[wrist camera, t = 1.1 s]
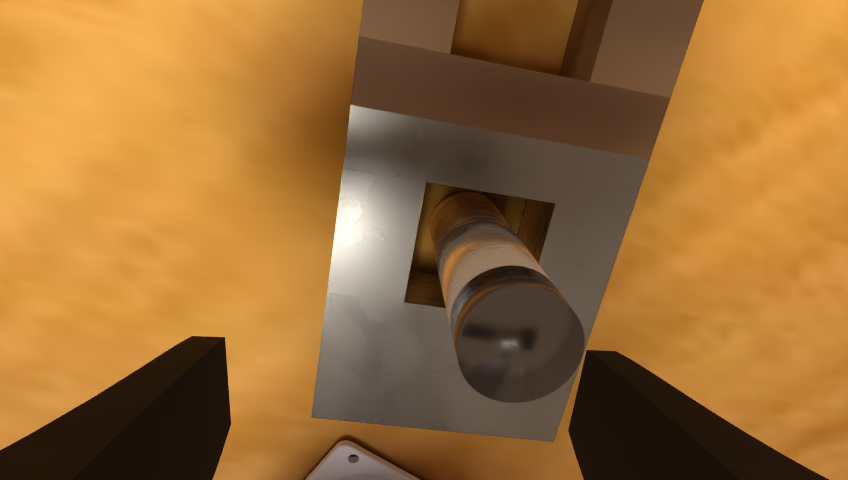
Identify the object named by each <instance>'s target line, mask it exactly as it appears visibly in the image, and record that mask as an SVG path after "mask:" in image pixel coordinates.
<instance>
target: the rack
mask: <svg viewBox="0 0 848 480" xmlns="http://www.w3.org/2000/svg"><path fill="white" fill-rule="evenodd" d="M703 1H704V0H579V2H578V6H577V10H576V14H575V18H574V22H573V25H572V29H571V33H570V37H569V41H568V44H567V48H566V52H565V56H564V60H563V64H562V67H561V71H560V75H559V76H558V75H553V74H548V73H543V72H538V71H533V70H528V69H523V68H518V67H513V66H508V65H503V64H498V63H493V62H488V61H483V60H478V59H473V58H468V57H463V56H458V55H453V54H450V51H451V46H452V40H453V35H454V29H455V24H456V19H457V13H458V8H459V3H460V0H364V1H363V9H362V17H361V25H360V33H359V41H358V49H357V57H356V65H355V73H354V81H353V89H352V96H351V104H350V105H353V106H359V107H364V108H370V109H375V110H381V111H386V112H392V113H397V114H403V115H408V116H414V117H419V118H425V119H430V120H436V121H441V122H447V123H452V124H458V125H463V126H469V127H475V128H480V129H486V130H491V131H497V132H502V133H508V134H513V135H519V136H524V137H530V138H535V139H541V140H546V141H552V142H557V143H563V144H568V145H574V146H579V147H585V148H590V149H596V150H602V151H607V152H613V153H618V154H624V155H629V156H635V157H640V158H646V159H650V156H651V153H652V151H653V148H654V145H655V142H656V139H657V136H658V133H659V130H660V127H661V124H662V121H663V118H664V115H665V112H666V109H667V106H668V104H669V101H670V98H671V95H672V92H673V89H674V86H675V83H676V80H677V77H678V74H679V71H680V68H681V65H682V62H683V60H684V57H685V54H686V51H687V48H688V45H689V42H690V39H691V36H692V33H693V30H694V27H695V24H696V21H697V18H698V15H699V13H700V10H701V7H702V4H703Z"/></svg>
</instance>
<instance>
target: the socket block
mask: <svg viewBox="0 0 848 480" xmlns="http://www.w3.org/2000/svg"><path fill="white" fill-rule="evenodd" d="M649 160H650V159H646V158H640V157H635V156H629V155H624V154H618V153H613V152H607V151H602V150H596V149H590V148H585V147H579V146H574V145H568V144H563V143H557V142H552V141H546V140H541V139H535V138H530V137H524V136H519V135H513V134H508V133H502V132H497V131H491V130H486V129H480V128H475V127H469V126H463V125H458V124H452V123H447V122H441V121H436V120H430V119H425V118H419V117H414V116H408V115H403V114H397V113H392V112H386V111H381V110H375V109H370V108H364V107H359V106H353V105H351V107H350V115H349V123H348V131H347V139H346V147H345V155H344V163H343V171H342V179H341V187H340V195H339V203H338V211H337V219H336V227H335V235H334V243H333V251H332V259H331V267H330V275H329V283H328V291H327V298H326V306H325V314H324V322H323V330H322V338H321V346H320V354H319V362H318V370H317V378H316V386H315V394H314V402H313V410H312V418H321V419H331V420H341V421H351V422H361V423H371V424H381V425H391V426H401V427H411V428H421V429H431V430H441V431H450V432H460V433H470V434H480V435H490V436H500V437H510V438H520V439H530V440H540V441H550V442H554V439H555V436H556V433H557V430H558V427H559V424H560V421H561V418H562V415H563V413H564V410H565V407H566V404H567V401H568V398H569V395H570V392H571V389H572V386H573V383H574V380H575V377H576V374H577V371H578V369H579V366H580V364H579V366H578V367H577V369H576V371H575V372H574V374H573V375H572V376H571V377H570V378H569V380H568V381H567V382H566V383H564V384H563V385H562V386H561V387H560V388H558V389H557V390H555V391H554V392H552V393H550V394H548V395H547V396H544V397H542V398H539V399H536V400H533V401H528V402H521V403H506V402H500V401H496V400H492V399H490V398H487V397H485V396H483V395H482V394H480V393H478V392H477V391H476V390H474V389H473V388H472V387H471V386H470V385H469V384H468V382H467V381H466V380H465V378H464V377H463V375H462V373H461V370H460V367H459V364H458V360H457V355H456V351H455V346H454V342H453V337H452V333H451V328H450V324H449V319H448V315H447V310H446V306H445V301H444V297H443V293H442V288H441V284H440V279H439V275H438V274H432V273H425V272H417V271H410V267H411V262H412V257H413V251H414V246H415V240H416V235H417V230H418V224H419V219H420V214H421V208H422V203H423V198H424V192H425V187H426V182H429V183H435V184H441V185H447V186H453V187H459V188H465V189H471V190H477V191H484V192H490V193H496V194H502V195H508V196H514V197H520V198H526V199H527V202H526V206H525V210H524V214H523V217H522V221H521V225H520V229H519V233H518V237H519V238H520V239H521V241H522V242H523V244H524V245H525V246H526V248H527V249H528V250H529V252H530V253H531V254H532V256H533V257H534V258H535V260H536V261H537V262H538V264H539V265H540V266H541V268H542V269H543V270H544V272H545V273H546V274H547V276H548V277H549V278H550V280H551V281H552V283H553V284H554V285H555V287H556V288H557V289H558V291H559V292H560V293H561V295H562V296H563V297H564V299H565V300H566V301H567V303H568V304H569V305H570V307H571V308H572V309H573V311H574V312H575V313H576V315H577V317H578V318H579V320H580V322H581V324H582V327H583V331H584V337H585V345H584V351H585V348H586V345H587V342H588V339H589V336H590V333H591V330H592V327H593V325H594V322H595V319H596V316H597V313H598V310H599V307H600V304H601V301H602V298H603V295H604V292H605V289H606V286H607V283H608V281H609V278H610V275H611V272H612V269H613V266H614V263H615V260H616V257H617V254H618V251H619V248H620V245H621V242H622V239H623V237H624V234H625V231H626V228H627V225H628V222H629V219H630V216H631V213H632V210H633V207H634V204H635V201H636V198H637V195H638V193H639V190H640V187H641V184H642V181H643V178H644V175H645V172H646V169H647V166H648V163H649ZM583 354H584V352H583ZM582 357H583V356H582ZM581 360H582V359H581ZM580 363H581V361H580Z"/></svg>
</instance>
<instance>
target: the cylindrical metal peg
mask: <svg viewBox="0 0 848 480" xmlns="http://www.w3.org/2000/svg"><path fill="white" fill-rule="evenodd" d="M429 234H430V239H431V243H432V248H433V252H434V257H435V261H436V266H437V270H438V275H439V279H440V284H441V288H442V293H443V297H444V301H445V306H446V310H447V315H448V319H449V324H450V328H451V333H452V337H453V342H454V346H455V351H456V355H457V360H458V364H459V367H460V370H461V373H462V375H463V377H464V378H465V380H466V381H467V382H468V384H469V385H470V386H471V387H472V388H473V389H474V390H476V391H477V392H478V393H480V394H482V395H483V396H485V397H487V398H490V399H492V400H496V401H500V402H506V403H521V402H528V401H533V400H536V399H539V398H542V397H544V396H547V395H548V394H550V393H552V392H554V391H555V390H557V389H558V388H560V387H561V386H562V385H563V384H564V383H566V382H567V381H568V380H569V378H570V377H571V376H572V375H573V374H574V372H575V371H576V369H577V367H578V366H579V364H580V361H581V359H582V356H583V352H584V345H585V337H584V331H583V327H582V324H581V322H580V320H579V318H578V317H577V315H576V313H575V312H574V311H573V309H572V308H571V307H570V305H569V304H568V303H567V301H566V300H565V299H564V297H563V296H562V295H561V293H560V292H559V291H558V289H557V288H556V287H555V285H554V284H553V283H552V281H551V280H550V278H549V277H548V276H547V274H546V273H545V272H544V270H543V269H542V268H541V266H540V265H539V264H538V262H537V261H536V260H535V258H534V257H533V256H532V254H531V253H530V252H529V250H528V249H527V248H526V246H525V245H524V244H523V242H522V241H521V239H520V238H519V237H518V235H517V234H516V233H515V231H514V230H513V229H512V227H511V226H510V225H509V223H508V222H507V221H506V219H505V218H504V217H503V215H502V214H501V213H500V211H499V210H498V209H497V207H496V206H495V205H494V203H493V202H492V201H491V200H490V199H488V198H487V197H485V196H483V195H481V194H478V193H475V192H459V193H455V194H452V195H450V196H448V197H447V198H445V199H444V200H442V201H441V202H440V203H439V204H438V205H437V206H436V208H435V209H434V211H433V213H432V215H431V218H430V222H429Z"/></svg>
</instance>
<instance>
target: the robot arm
mask: <svg viewBox="0 0 848 480" xmlns="http://www.w3.org/2000/svg"><path fill="white" fill-rule="evenodd" d="M230 425H231V418H230V403H229V389H228V375H227V361H226V347H225V337H200V336H192V337H190V338H188V339H186V340H184V341H183V342H181V343H179V344H177V345H176V346H174V347H173V348H171V349H169V350H168V351H166V352H165V353H163V354H161V355H160V356H158V357H157V358H155V359H154V360H152V361H150V362H149V363H147V364H146V365H144V366H143V367H141V368H140V369H138V370H136V371H135V372H133V373H132V374H130V375H128V376H127V377H125V378H124V379H122V380H120V381H119V382H117V383H116V384H114V385H113V386H111V387H109V388H108V389H106V390H105V391H103V392H101V393H100V394H98V395H97V396H95V397H93V398H92V399H90V400H88V401H87V402H85V403H83V404H81V405H80V406H78V407H76V408H74V409H73V410H71V411H69V412H68V413H66V414H64V415H62V416H61V417H59V418H57V419H56V420H54V421H52V422H50V423H49V424H47V425H45V426H43V427H42V428H40V429H38V430H37V431H35V432H33V433H31V434H30V435H28V436H26V437H24V438H22V439H21V440H19V441H17V442H15V443H13V444H11V445H10V446H8V447H6V448H4V449H2V450H0V480H212V479H213V476H214V474H215V471H216V468H217V465H218V462H219V459H220V456H221V454H222V451H223V447H224V444H225V441H226V438H227V435H228V432H229V428H230ZM568 431H569V434H570V438H571V441H572V444H573V448H574V451H575V454H576V458H577V460H578V463H579V466H580V469H581V472H582V475H583V478H584V480H829V479H827V478H825V477H823V476H821V475H819V474H817V473H815V472H813V471H811V470H810V469H808V468H806V467H804V466H802V465H801V464H799V463H797V462H795V461H793V460H792V459H790V458H788V457H786V456H784V455H783V454H781V453H779V452H778V451H776V450H774V449H772V448H771V447H769V446H767V445H766V444H764V443H762V442H761V441H759V440H757V439H756V438H754V437H752V436H750V435H749V434H747V433H745V432H744V431H742V430H740V429H739V428H737V427H736V426H734V425H732V424H731V423H729V422H728V421H726V420H724V419H723V418H721V417H720V416H718V415H716V414H715V413H713V412H712V411H710V410H708V409H707V408H705V407H704V406H702V405H701V404H699V403H698V402H696V401H694V400H693V399H691V398H690V397H688V396H687V395H685V394H684V393H682V392H681V391H679V390H678V389H676V388H675V387H673V386H671V385H670V384H668V383H667V382H665V381H664V380H662V379H661V378H659V377H658V376H656V375H655V374H653V373H651V372H650V371H648V370H647V369H645V368H644V367H642V366H640V365H639V364H637V363H636V362H634V361H632V360H631V359H629V358H627V357H625V356H624V355H622V354H620V353H618V352H616V351H594V350H587V352H586V356H585V360H584V365H583V369H582V373H581V378H580V382H579V386H578V391H577V395H576V399H575V404H574V408H573V413H572V417H571V421H570V426H569V430H568ZM353 454H354V455H357V456H356V457H353V456H350V455H353ZM305 480H420V479H418V478H416V477H415V476H413V475H411V474H409V473H407V472H405V471H404V470H402V469H400V468H398V467H396V466H395V465H393V464H391V463H389V462H387V461H386V460H384V459H382V458H380V457H378V456H377V455H375V454H373V453H371V452H369V451H367V450H366V449H364V448H362V447H360V446H358V445H357V444H355V443H353V442H351V441H348V440H343V441H340V442H338V443H337V444H336V445H335V446H334V447H333V449H332V450H331V451H330V452H329V453H328V454H327V455H326V457H325V458H324V459H323V460H322V461H321V462H320V463H319V464H318V466H317V467H316V468H315V469H314V470H313V471H312V472H311V473H310V475H309V476H308V477H307V478H306V479H305Z"/></svg>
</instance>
